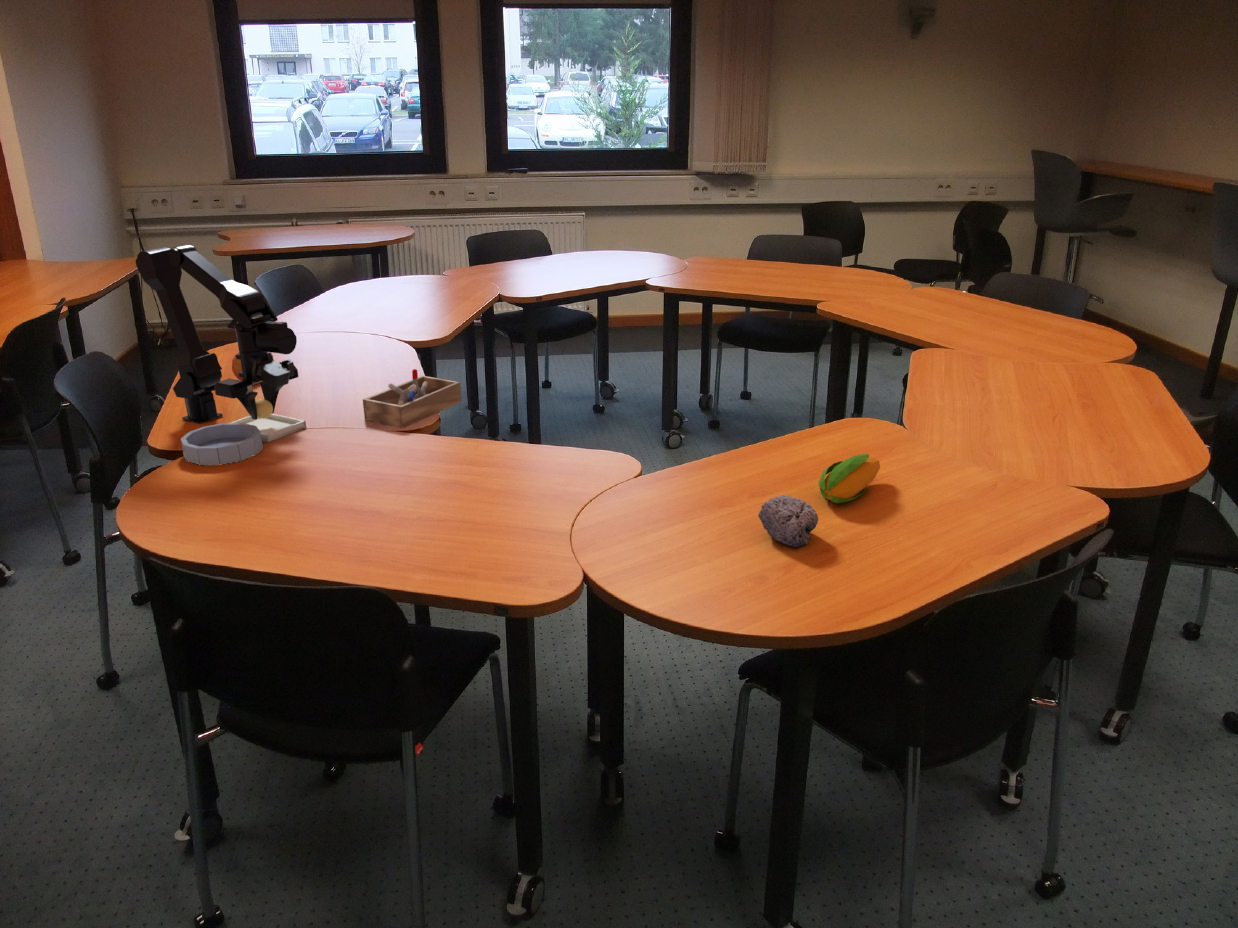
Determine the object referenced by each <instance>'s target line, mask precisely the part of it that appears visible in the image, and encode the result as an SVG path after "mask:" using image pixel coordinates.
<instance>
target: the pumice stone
mask: <svg viewBox="0 0 1238 928" xmlns="http://www.w3.org/2000/svg"><path fill="white" fill-rule="evenodd" d="M757 515H758V516H757V517H758V518H759V520H760V522H761V523H762V527H763V529H764V530H766V533H767V534H768V535H769V536H770V537H771V538H773V540H774V541H777V542H779V543H782V544H783V545H786V546H788V547H794V548H796V549H797V548H798V549H800V548H801V547H802V546H803V547H804V546H805V545H807V544H808V543H809V542H810V536H809V535H810V533H811V532H812V531H814V530H815V529H816V527H817V525H818V522H819V516H818V513H817V512H816V510H815V508H814V507H813V506H812V505H810V503H808V502H806V501H805V500H803V499H801V498H799V497H792V496H791V495H787V494H781V495H779V496H774V497H771V498H770V499H769V500H767V501H765V502H764V503H763V504H761V509H760V510H759V512H758V514H757Z"/></svg>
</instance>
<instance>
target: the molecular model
mask: <svg viewBox="0 0 1238 928" xmlns="http://www.w3.org/2000/svg"><path fill="white" fill-rule="evenodd" d="M411 374H412V375H411V376H412V380H413V385H411V386H410V387H408V388H407V389H406V390H404V391H403V390H401V389H400V388H398V387H397V386H398V385H395V384H394V383H391V382H390V383H389V384H388V389H392V390H393V391H395V392H396V393H398V394H399V395H400V398H399V402H398V405H403V404H404V400H405V399H407V400H408V402H411V401H413V400H416V399H418V398H420V397H423V396H425V395H427V394H425V391H426V388H427V386H428V383H427V382H423V385H422V387H421V389H420V387H419V386H418V377H419V376H418V370H417V369H416V368H413V369H412V371H411ZM416 392H417V393H418V394H416V395H415V393H416ZM409 393H410V394H409Z"/></svg>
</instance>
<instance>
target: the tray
mask: <svg viewBox="0 0 1238 928" xmlns="http://www.w3.org/2000/svg"><path fill="white" fill-rule="evenodd" d="M306 422H307V421H306V420H304V419H299V418H295V417H290V416H286V415H281V414H276V413H273V414H271V415H270V416H269V417H268V418H265V419H261V418H258V417H257V420H254V419H252V417H251V416H250V415H247V416H245V417H242V418H240V419H239V418H238V419H237V420H234V421H231V422H230V423H245V424H249V425H254V426H256V427H257V428H258V429H259V431H260V434H261V440H262V442H264V441H265V443H271V442H273V441H272V440H274V441H275V440H279V439H280V438H283V437H286V436H288V435H291V434H293V433H296V432H298V431H300V430H302V429H306V428H307V423H306ZM270 441H271V442H270Z"/></svg>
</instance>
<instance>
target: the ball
mask: <svg viewBox="0 0 1238 928" xmlns="http://www.w3.org/2000/svg"><path fill="white" fill-rule="evenodd" d="M255 402H256V409H257V417H258V418H261V419H265V418H268V417H269V416H270V415H271V414H272V412H273V406H272V404H271V403H270V402H269V401H268V400H265V399H264V398H260V399H257V400H255Z"/></svg>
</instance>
